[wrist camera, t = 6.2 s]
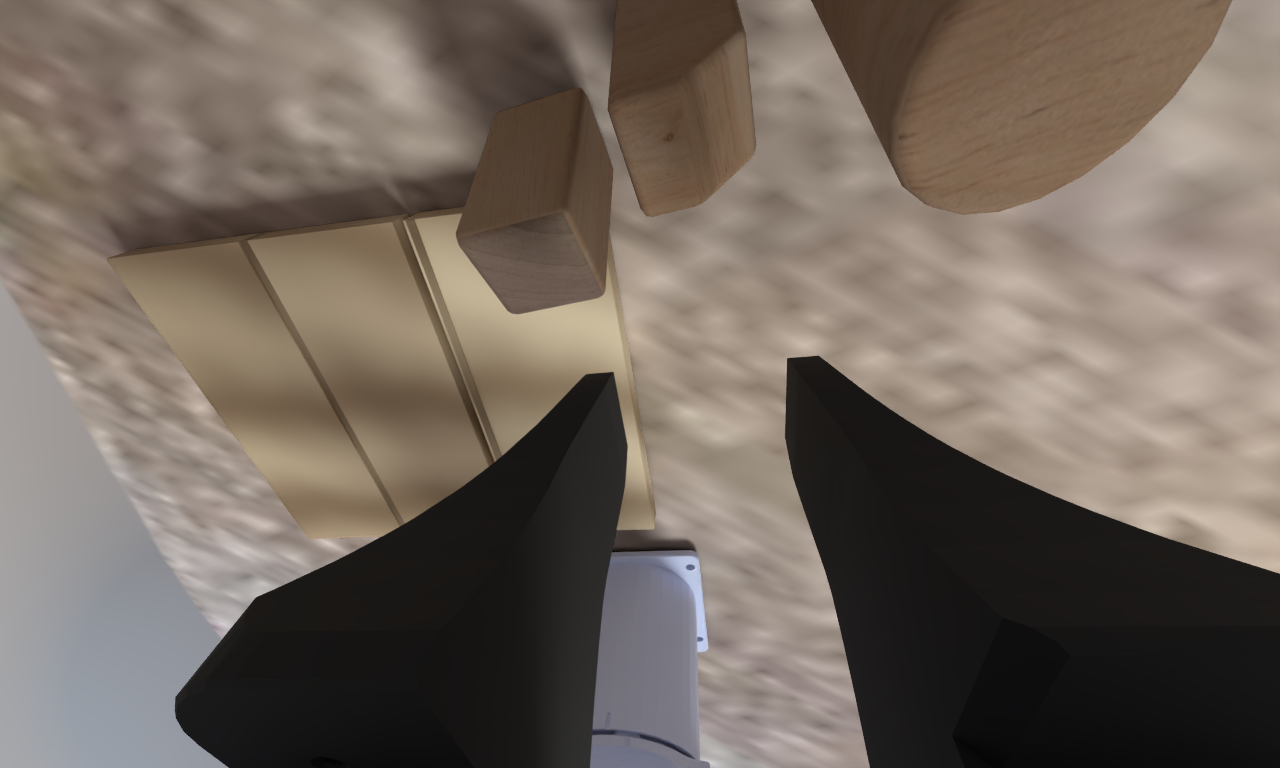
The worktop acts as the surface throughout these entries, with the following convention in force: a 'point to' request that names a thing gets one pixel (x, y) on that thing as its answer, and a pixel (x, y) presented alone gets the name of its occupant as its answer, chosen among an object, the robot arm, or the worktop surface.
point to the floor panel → (321, 366)
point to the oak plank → (530, 352)
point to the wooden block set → (887, 87)
